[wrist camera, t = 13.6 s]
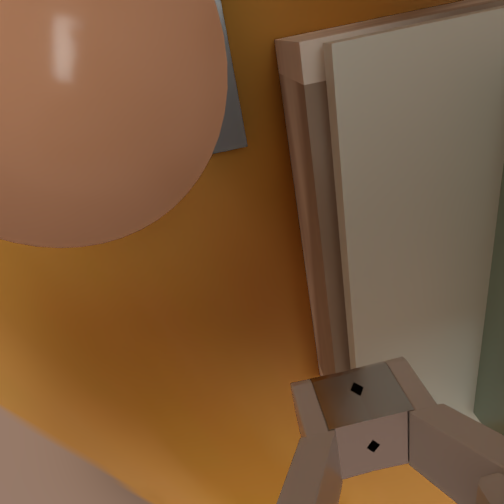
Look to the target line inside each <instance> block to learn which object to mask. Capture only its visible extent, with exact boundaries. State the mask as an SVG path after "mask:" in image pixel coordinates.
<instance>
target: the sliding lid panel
mask: <svg viewBox="0 0 504 504" xmlns="http://www.w3.org/2000/svg"><path fill="white" fill-rule="evenodd" d="M323 50H324V62H325V74H326V85H327V97H328V109H329V121H330V133H331V144H332V156H333V168H334V180H335V191H336V203H337V215H338V227H339V238H340V250H341V262H342V274H343V285H344V297H345V309H346V321H347V333H348V344H349V356H350V368H351V369H354V368H358V367H362V366H366V365H370V364H374V363H378V362H384V361H386V360H390V359H394V358H399V357H404V358H405V359H406V360H407V361H408V362H409V364H410V365H411V367H412V368H413V370H414V371H415V373H416V374H417V376H418V377H419V379H420V380H421V381H422V383H423V384H424V386H425V387H426V389H427V390H428V392H429V393H430V395H431V396H432V398H433V399H434V400H435V402H436V403H437V405H438V404H445V405H447V406H449V407H451V408H453V409H455V410H457V411H458V412H460V413H462V414H464V415H466V416H468V417H470V418H472V419H474V420H475V421H477V422H479V423H481V424H483V425H485V426H487V427H489V428H491V429H492V430H494V431H496V432H498V433H500V434H502V435H504V5H503V6H498V7H493V8H488V9H483V10H479V11H474V12H469V13H464V14H459V15H454V16H450V17H445V18H440V19H435V20H430V21H426V22H421V23H416V24H411V25H406V26H402V27H397V28H392V29H387V30H382V31H378V32H373V33H368V34H363V35H358V36H354V37H349V38H344V39H339V40H334V41H330V42H325V43H323Z"/></svg>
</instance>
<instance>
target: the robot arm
mask: <svg viewBox="0 0 504 504" xmlns="http://www.w3.org/2000/svg"><path fill="white" fill-rule="evenodd" d="M291 391H292V396H293V401H294V406H295V412H296V416H297V421H298V425H299V430H300V434H301V438H300V440H299V443H298V446H297V449H296V451H295V454H294V457H293V460H292V462H291V465H290V468H289V471H288V473H287V476H286V479H285V482H284V485H283V487H282V490H281V493H280V496H279V498H278V501H277V504H338V502H339V497H340V492H341V487H342V482H343V481H342V479H346V478H349V477H353V476H357V475H360V474H364V473H367V472H371V471H374V470H379V469H384V468H388V467H393V466H397V465H402V464H407V463H409V465H410V466H412V467H413V468H414V469H415V470H416V471H418V472H419V473H420V474H421V475H423V476H424V477H425V478H426V479H428V480H429V481H430V482H431V483H433V484H434V485H435V486H436V487H438V488H439V489H440V490H441V491H443V492H444V493H445V494H446V495H448V496H449V497H450V498H451V499H453V500H454V501H455V502H456V503H457V504H504V435H502V434H500V433H498V432H496V431H494V430H492V429H491V428H489V427H487V426H485V425H483V424H481V423H479V422H477V421H475V420H474V419H472V418H470V417H468V416H466V415H464V414H462V413H460V412H458V411H457V410H455V409H453V408H451V407H449V406H447V405H445V404H438V405H437V403H436V402H435V400H434V399H433V398H432V396H431V395H430V393H429V392H428V390H427V389H426V387H425V386H424V384H423V383H422V381H421V380H420V379H419V377H418V376H417V374H416V373H415V371H414V370H413V368H412V367H411V365H410V364H409V362H408V361H407V360H406V359H405V358H404V357H399V358H394V359H390V360H386V361H384V362H378V363H374V364H370V365H366V366H362V367H358V368H354V369H350V370H346V371H343V372H339V373H334V374H329V375H325V376H320V377H315V378H310V380H309V379H307V380H303V381H298V382H293V383H291Z"/></svg>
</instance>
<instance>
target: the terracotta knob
mask: <svg viewBox="0 0 504 504" xmlns="http://www.w3.org/2000/svg"><path fill="white" fill-rule="evenodd" d="M227 89H228V85H227V56H226V48H225V41H224V34H223V30H222V26H221V22H220V18H219V14H218V10H217V6H216V3H215V0H0V239H3V240H6V241H10V242H14V243H19V244H25V245H31V246H38V247H52V248H69V247H84V246H90V245H96V244H102V243H106V242H109V241H113V240H116V239H120V238H123V237H125V236H127V235H130V234H132V233H134V232H137V231H139V230H141V229H143V228H145V227H146V226H148V225H150V224H151V223H153V222H155V221H157V220H158V219H159V218H161V217H162V216H163V215H165V214H166V213H167V212H168V211H170V210H171V209H172V208H174V207H175V206H176V205H177V204H178V202H179V201H180V200H181V199H182V198H183V197H184V196H185V195H186V194H187V193H188V192H189V191H190V189H191V188H192V187H193V185H194V184H195V183H196V181H197V180H198V179H199V177H200V176H201V174H202V172H203V171H204V169H205V167H206V165H207V163H208V161H209V160H210V158H211V156H212V153H213V150H214V148H215V145H216V143H217V140H218V138H219V134H220V130H221V126H222V122H223V118H224V114H225V106H226V98H227Z"/></svg>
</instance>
